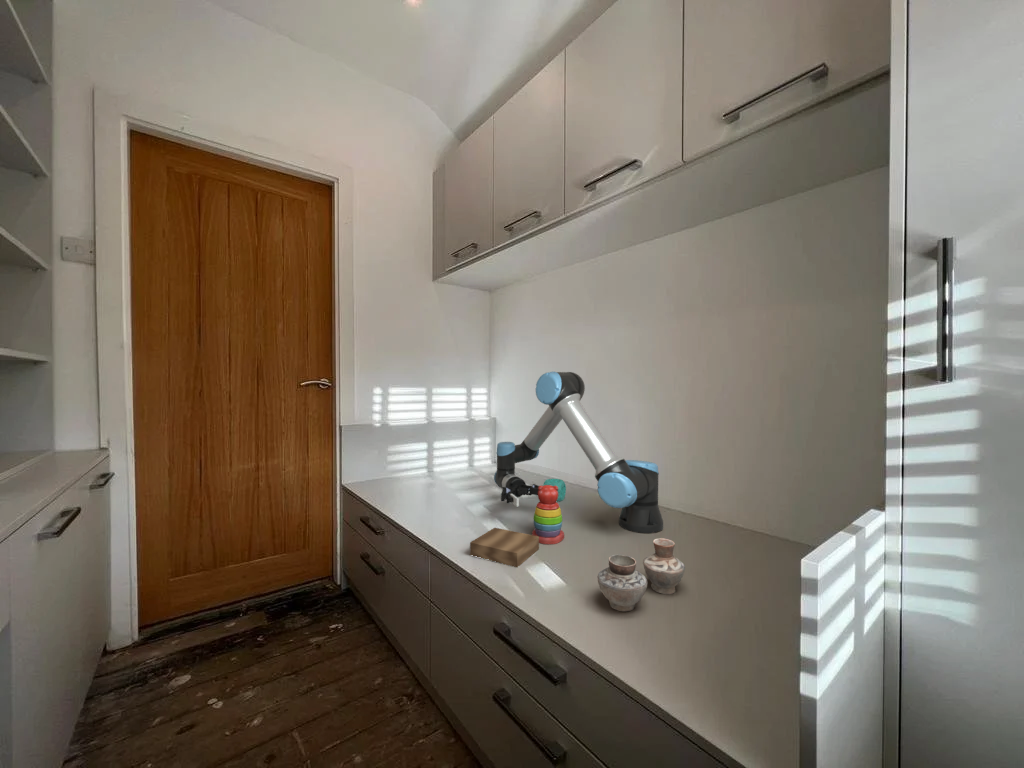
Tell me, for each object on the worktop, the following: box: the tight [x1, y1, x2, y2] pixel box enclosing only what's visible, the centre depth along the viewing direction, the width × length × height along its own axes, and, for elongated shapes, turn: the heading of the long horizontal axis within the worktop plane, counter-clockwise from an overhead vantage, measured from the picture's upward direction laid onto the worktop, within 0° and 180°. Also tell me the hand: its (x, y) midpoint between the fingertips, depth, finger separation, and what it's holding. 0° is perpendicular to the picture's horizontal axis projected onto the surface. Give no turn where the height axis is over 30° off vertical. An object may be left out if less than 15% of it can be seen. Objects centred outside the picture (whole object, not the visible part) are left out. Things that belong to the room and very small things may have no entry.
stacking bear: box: [531, 485, 565, 545], centre depth 139 cm, size 11×10×18 cm
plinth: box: [469, 527, 540, 568], centre depth 128 cm, size 16×14×4 cm
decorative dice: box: [542, 478, 567, 502], centre depth 183 cm, size 8×8×8 cm
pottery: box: [597, 537, 686, 612], centre depth 103 cm, size 11×25×12 cm, turn 121°
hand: (535, 500), depth 148 cm, fingers open, 13 cm apart
